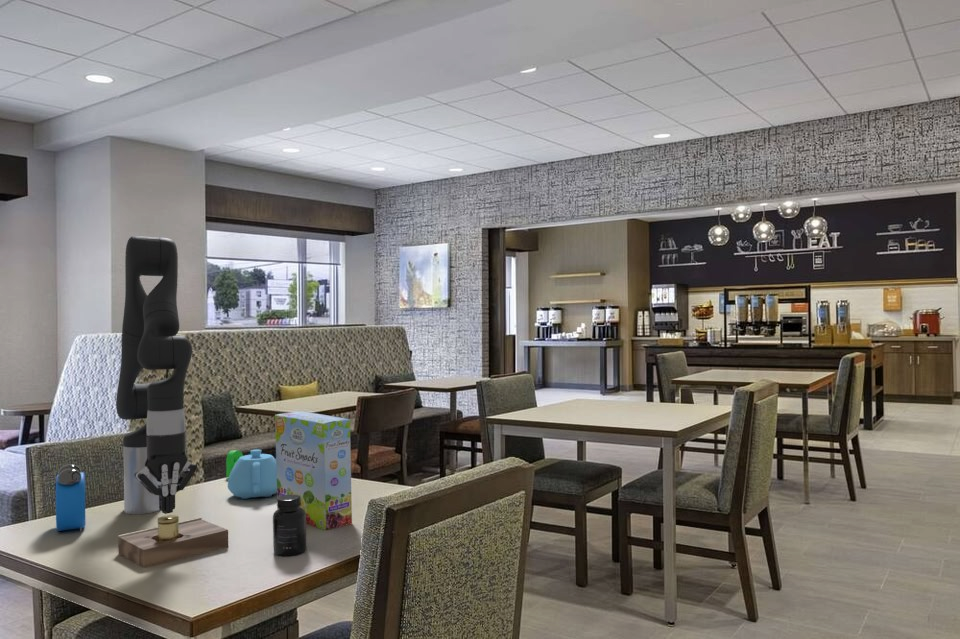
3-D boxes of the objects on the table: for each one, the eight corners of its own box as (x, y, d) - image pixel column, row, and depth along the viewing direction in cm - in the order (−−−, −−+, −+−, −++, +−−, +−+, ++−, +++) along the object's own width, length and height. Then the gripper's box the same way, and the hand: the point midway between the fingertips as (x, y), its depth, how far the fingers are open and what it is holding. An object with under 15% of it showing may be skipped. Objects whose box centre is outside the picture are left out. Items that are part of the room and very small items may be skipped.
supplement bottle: (276, 549, 158) (276, 493, 158) (308, 547, 159) (308, 492, 159) (270, 559, 151) (269, 501, 151) (303, 558, 152) (303, 500, 152)
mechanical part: (241, 478, 228) (241, 453, 228) (226, 477, 230) (226, 451, 230) (266, 470, 239) (266, 446, 239) (252, 469, 241) (251, 445, 241)
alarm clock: (85, 534, 170) (84, 470, 170) (55, 538, 167) (54, 473, 167) (85, 520, 182) (84, 460, 182) (56, 524, 179) (55, 463, 179)
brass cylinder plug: (154, 555, 154) (154, 518, 154) (173, 551, 157) (173, 514, 157) (163, 560, 152) (162, 521, 152) (182, 555, 155) (182, 517, 155)
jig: (118, 555, 155) (118, 535, 155) (200, 536, 168) (200, 517, 168) (143, 569, 146) (143, 548, 146) (228, 548, 159) (228, 528, 159)
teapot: (228, 488, 214) (228, 445, 214) (299, 483, 220) (298, 441, 220) (226, 505, 195) (226, 458, 195) (303, 499, 201) (303, 453, 201)
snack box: (273, 515, 185) (272, 413, 185) (303, 508, 191) (302, 410, 191) (324, 532, 170) (322, 421, 170) (354, 524, 176) (353, 417, 176)
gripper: (188, 425, 162) (189, 503, 162) (126, 432, 152) (127, 515, 152) (204, 428, 156) (205, 509, 157) (141, 436, 147) (142, 522, 147)
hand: (167, 512), depth 154 cm, fingers closed
